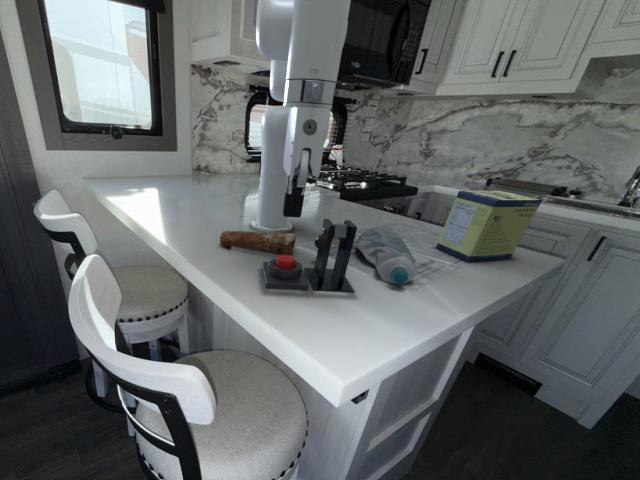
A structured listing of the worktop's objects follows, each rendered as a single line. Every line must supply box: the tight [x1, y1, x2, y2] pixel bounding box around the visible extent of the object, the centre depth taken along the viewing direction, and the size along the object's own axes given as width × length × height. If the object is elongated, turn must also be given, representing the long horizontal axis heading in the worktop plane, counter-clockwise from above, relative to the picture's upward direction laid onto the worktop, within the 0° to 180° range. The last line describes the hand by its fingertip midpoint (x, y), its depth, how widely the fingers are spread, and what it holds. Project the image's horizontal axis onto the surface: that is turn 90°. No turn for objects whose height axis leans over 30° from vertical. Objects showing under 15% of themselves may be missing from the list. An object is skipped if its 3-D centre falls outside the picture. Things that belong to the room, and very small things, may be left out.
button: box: [276, 254, 296, 269], centre depth 60 cm, size 4×4×2 cm
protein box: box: [435, 190, 543, 263], centre depth 80 cm, size 10×16×16 cm
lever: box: [314, 223, 347, 249], centre depth 62 cm, size 13×3×3 cm, turn 0°
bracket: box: [303, 218, 358, 294], centre depth 59 cm, size 10×8×13 cm
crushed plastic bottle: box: [355, 226, 417, 285], centre depth 69 cm, size 13×7×25 cm
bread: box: [219, 230, 297, 256], centre depth 75 cm, size 6×19×6 cm, turn 71°
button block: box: [261, 257, 310, 291], centre depth 61 cm, size 10×8×4 cm
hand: (291, 215), depth 56 cm, fingers closed
